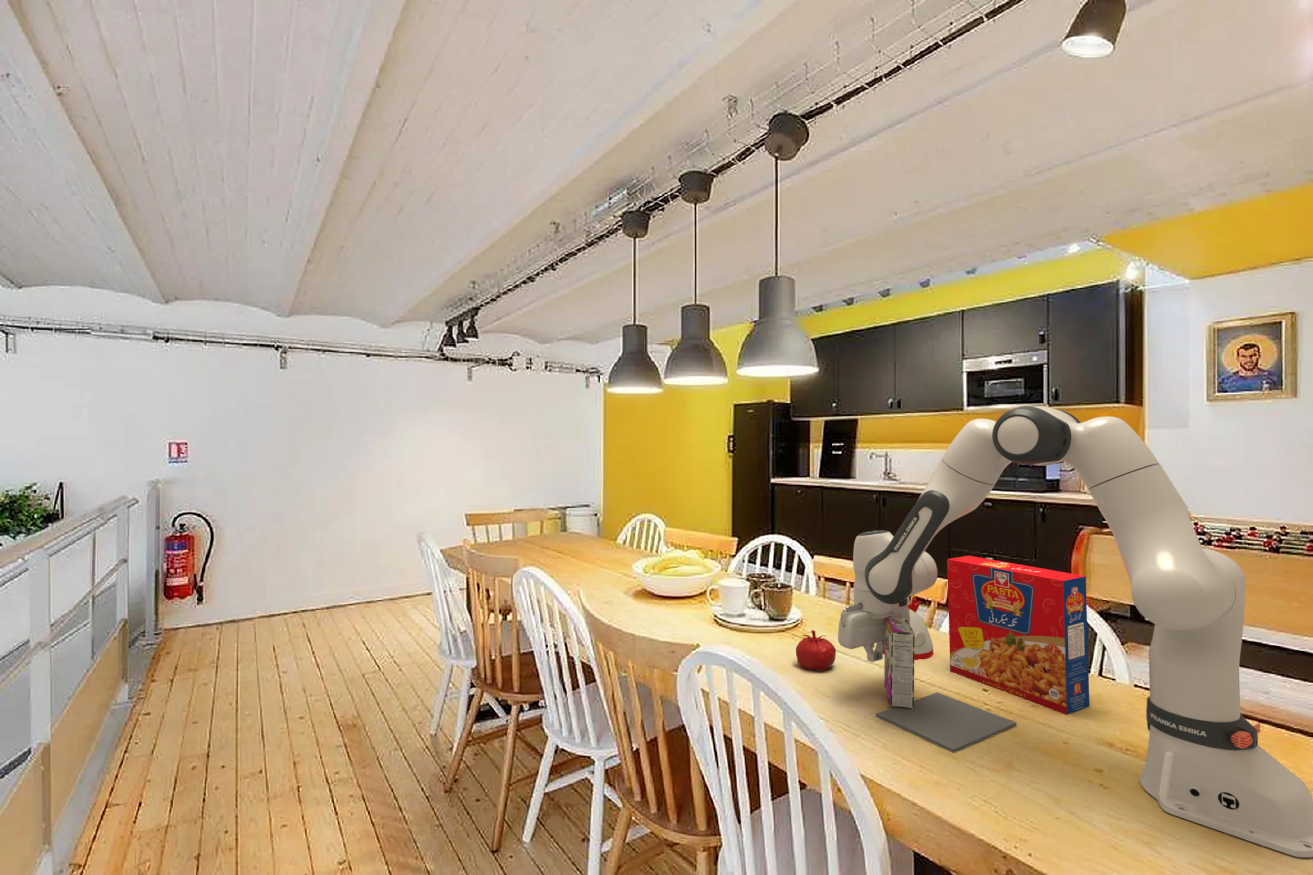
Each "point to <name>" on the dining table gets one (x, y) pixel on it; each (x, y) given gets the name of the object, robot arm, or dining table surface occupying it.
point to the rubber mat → (947, 721)
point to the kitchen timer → (919, 633)
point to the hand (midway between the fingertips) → (875, 660)
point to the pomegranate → (815, 653)
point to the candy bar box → (899, 662)
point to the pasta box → (1020, 630)
